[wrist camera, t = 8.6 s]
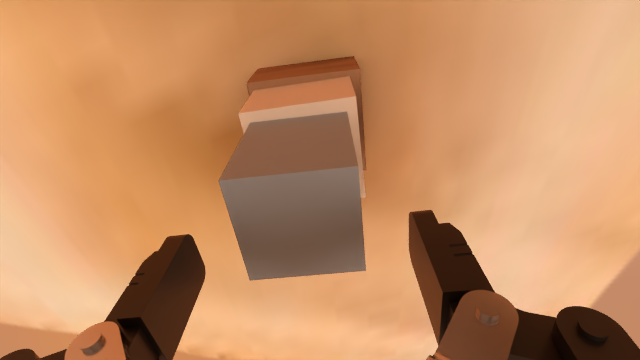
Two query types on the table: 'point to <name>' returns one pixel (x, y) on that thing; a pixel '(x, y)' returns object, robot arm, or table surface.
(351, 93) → the tower top
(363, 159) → the tower base
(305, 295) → the table surface
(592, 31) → the table surface
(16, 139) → the table surface
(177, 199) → the table surface
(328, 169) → the slate block
